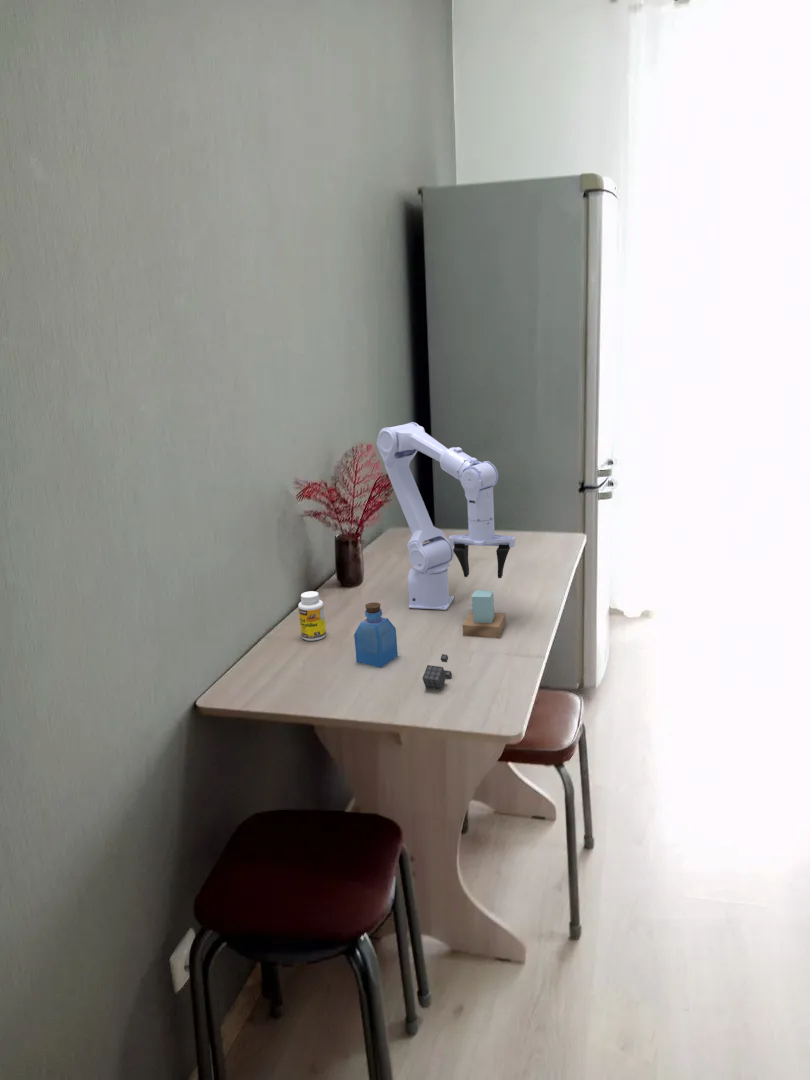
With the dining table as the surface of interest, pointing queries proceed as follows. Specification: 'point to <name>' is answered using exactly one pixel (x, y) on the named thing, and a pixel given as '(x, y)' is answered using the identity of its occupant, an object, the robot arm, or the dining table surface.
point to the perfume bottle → (375, 638)
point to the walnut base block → (484, 626)
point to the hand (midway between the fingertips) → (483, 576)
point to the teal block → (483, 606)
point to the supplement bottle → (311, 616)
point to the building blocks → (436, 675)
